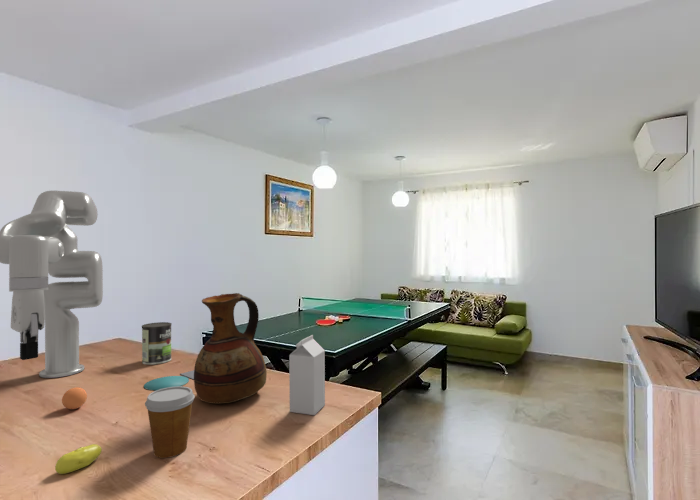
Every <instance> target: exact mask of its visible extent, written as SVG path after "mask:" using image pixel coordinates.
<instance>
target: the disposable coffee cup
mask: <svg viewBox="0 0 700 500" xmlns="http://www.w3.org/2000/svg"><path fill="white" fill-rule="evenodd" d="M194 400H195V394H194V392H193V389H192V388H191V387H188V386H177V387H168V388H163V389H159V390H153V392H151V393H149V394H148V395H147V398H146V401H145V402H144V405H145V408H146V409H147V412H148V421H149V429H150V435H151V441H152V447H153V448H152V449H153V456H155V457H156V458H160V459H165V458H172V457H176V456H178V455H180V454H182V453H184V452H185V451H186V449H187V447H188V439H189V430H190V422H191V416H192V414H191V413H192V406H193V402H194Z"/></svg>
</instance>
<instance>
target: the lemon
mask: <svg viewBox="0 0 700 500" xmlns="http://www.w3.org/2000/svg"><path fill="white" fill-rule="evenodd" d="M102 450H103V449H102V447H101V446H100V445H99V444H97V443H92V444H89V445H85V446H81V447H79V448H77V449H75V450H72V451H70V452H67V453H65V454H63V455H62V456H60V457H59V458H58V459H57V462H56V463H55V466H54V467H55V468H54V469H55V471H56V473H57V474H59V475H64V474H69V473H72V472H74V471H77V470H80V469H83V468H86V467H88V466H89V465H91V464H92V463H93V462H94V461H95V460H97V458H99V457H100V456H101V454H102Z"/></svg>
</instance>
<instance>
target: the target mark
mask: <svg viewBox="0 0 700 500" xmlns="http://www.w3.org/2000/svg"><path fill="white" fill-rule="evenodd" d="M189 379H190V378H188V377H185V376H183V375H169V376H168V375H167V376H162V377H158V378H153V379H151V380H149V381H147V382H145V383H144V384H143V388H144V389H146V390H148V391H157V390H159V389H163V388H168V387H177V386H182V387H184V385H186V384H188V383H189V382H190V380H189Z"/></svg>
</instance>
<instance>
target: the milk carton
mask: <svg viewBox="0 0 700 500" xmlns="http://www.w3.org/2000/svg"><path fill="white" fill-rule="evenodd" d="M295 347H296V348H295V349H294V350H293V351H292V352H291V353H290V354H289V355H288V357H289V360H288V361H289V365H288V367H289V370H288V371H289V379H288V381H289V412H290V413H295V414H296V413H297V414H304V415H309V416H316V415H317V413H318V412H319V411H321V409H323V408H324V406H326V385H325V384H326V382H325V381H326V380H325V378H326V376H325V375H326V372H325V371H326V370H325V368H326V367H325V366H326V364H325V363H326V361H325V360H326V359H325V353H326V352H325V348H323V347H322V345H320V344H319V343H318V342H317V341H316V340H315V339H314V334H311V335H310V336H309V335H308V336H307V337H305V338H303V339H301V340H300V341H299V342H298V343H296V344H295Z"/></svg>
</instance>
